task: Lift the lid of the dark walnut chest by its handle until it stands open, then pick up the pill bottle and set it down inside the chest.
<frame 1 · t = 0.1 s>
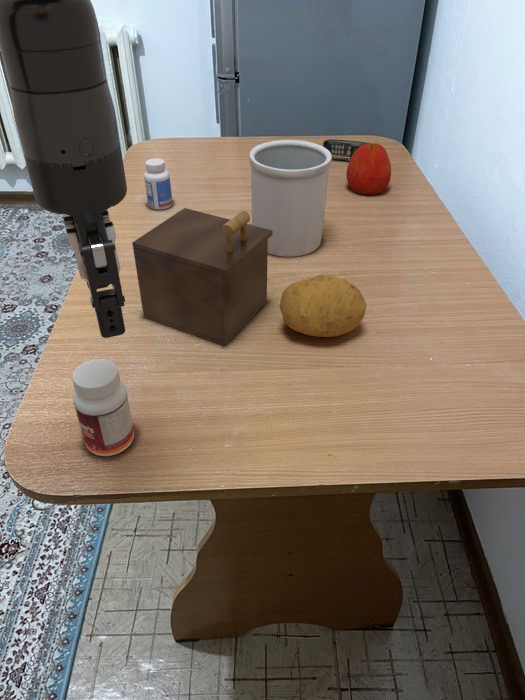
hand: (105, 309, 55), 22 cm above the table, tool pointing down, fingers open, 8 cm apart
apple: (367, 189, 133), on the table
pill bottle 2: (160, 205, 125), on the table
chest: (206, 309, 94), on the table
pill bottle: (110, 440, 72), on the table
utensil holder: (287, 241, 113), on the table
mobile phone: (351, 161, 147), on the table
potato: (320, 331, 90), on the table
lid: (202, 225, 84), point 15 cm above the table, hinge at 0.0°
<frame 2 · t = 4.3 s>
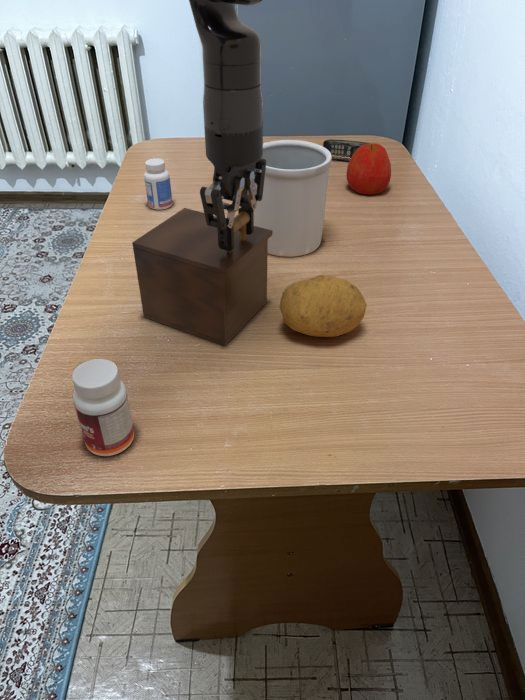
hand: (236, 240, 83), 14 cm above the table, tool pointing down, fingers closed on lid, 5 cm apart
lid: (202, 225, 84), point 15 cm above the table, hinge at -0.1°, touching gripper
everything else where it was.
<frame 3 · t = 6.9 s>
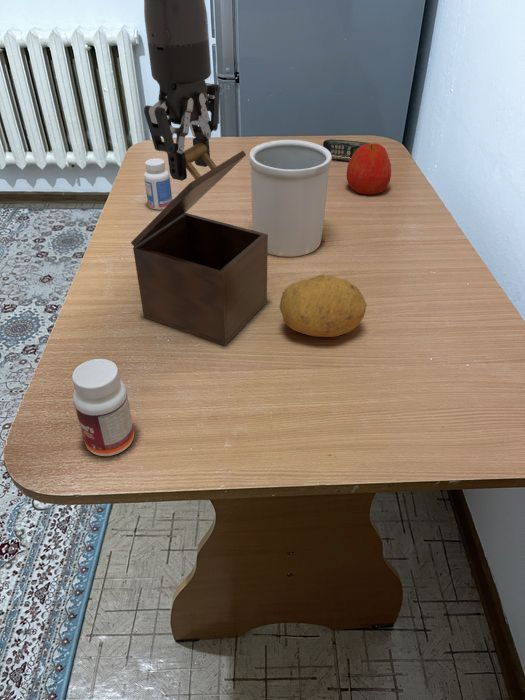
hand: (191, 171, 80), 23 cm above the table, tool pointing down, fingers closed on lid, 5 cm apart
lid: (178, 187, 82), point 21 cm above the table, hinge at 44.9°, touching gripper
everything else where it was.
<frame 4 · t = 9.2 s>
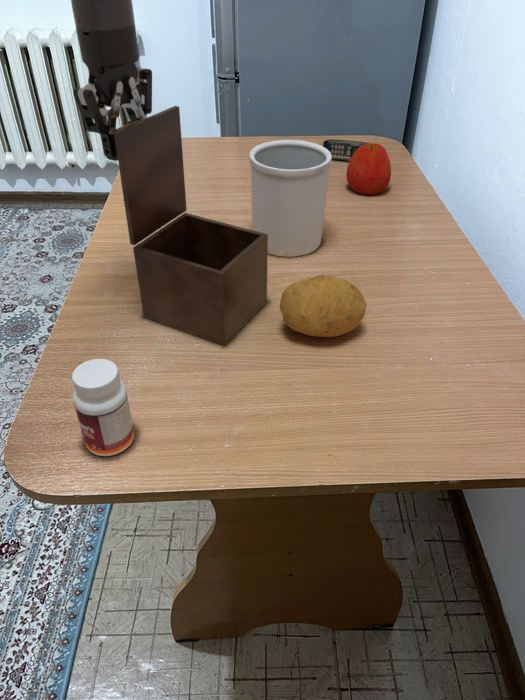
hand: (126, 152, 83), 24 cm above the table, tool pointing down, fingers closed on lid, 5 cm apart
lid: (142, 172, 84), point 21 cm above the table, hinge at 89.2°, touching gripper
everything else where it was.
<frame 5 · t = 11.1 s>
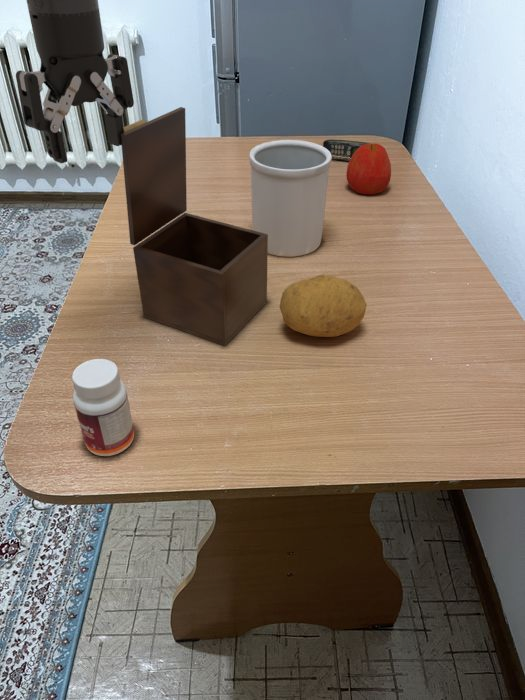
hand: (89, 152, 72), 28 cm above the table, tool pointing down, fingers open, 8 cm apart
lid: (145, 172, 84), point 22 cm above the table, hinge at 85.3°, touching gripper
everything else where it was.
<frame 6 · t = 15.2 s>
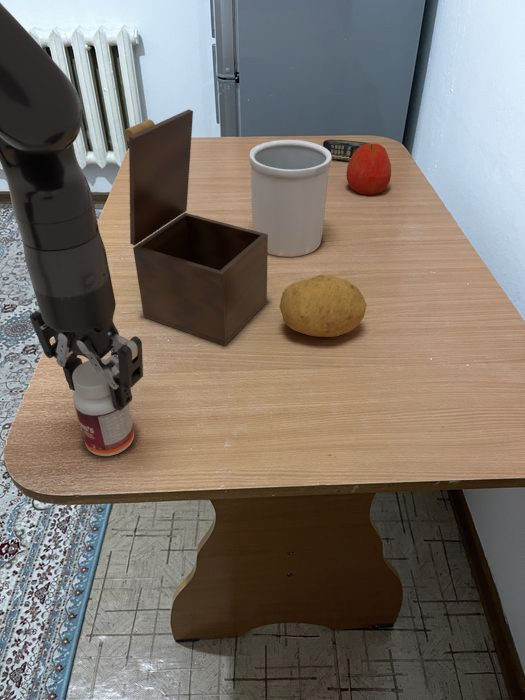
hand: (100, 395, 67), 8 cm above the table, tool pointing down, fingers closed on pill bottle, 6 cm apart
pill bottle: (110, 440, 72), on the table, touching gripper
lid: (149, 173, 83), point 22 cm above the table, hinge at 80.6°
everything else where it was.
when the fingers open (8 cm above the table, at t = 24.1 s): pill bottle stays where it is, resting on chest.
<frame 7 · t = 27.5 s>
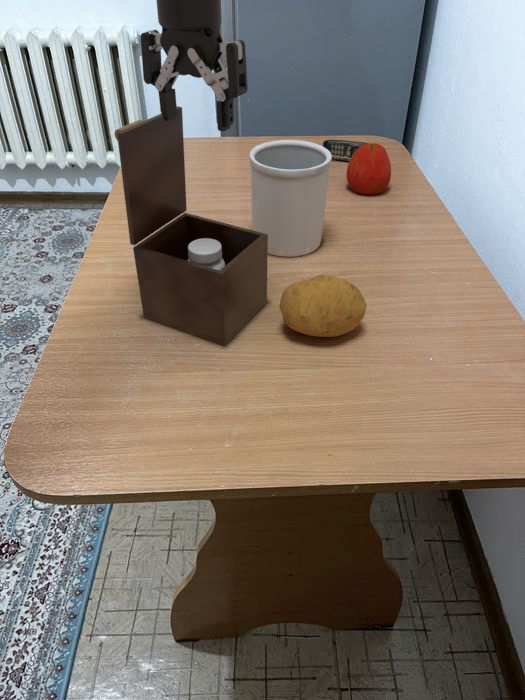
hand: (196, 124, 75), 30 cm above the table, tool pointing down, fingers open, 8 cm apart
pill bottle: (208, 307, 93), point 1 cm above the table, touching chest
lid: (143, 172, 84), point 22 cm above the table, hinge at 87.4°
everything else where it was.
at the end: lid at +87° (first picture: +0°); pill bottle inside the target area in the chest (0.5 cm from its centre), point 0.6 cm above the chest's base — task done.
